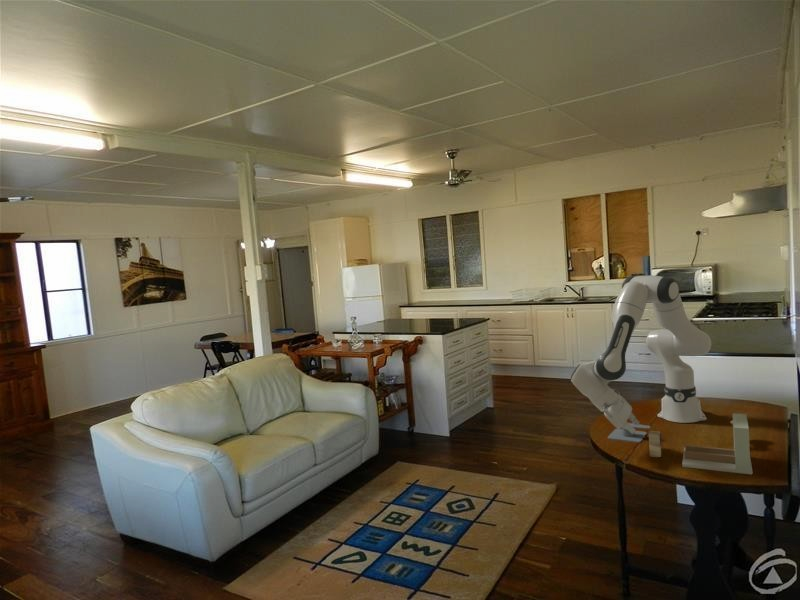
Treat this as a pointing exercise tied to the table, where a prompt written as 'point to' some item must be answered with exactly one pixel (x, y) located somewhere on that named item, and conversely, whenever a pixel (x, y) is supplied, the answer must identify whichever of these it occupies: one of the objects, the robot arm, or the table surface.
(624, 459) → the table surface
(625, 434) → the shower valve
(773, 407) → the table surface
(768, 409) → the table surface
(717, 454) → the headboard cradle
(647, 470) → the table surface
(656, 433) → the beige wooden block
